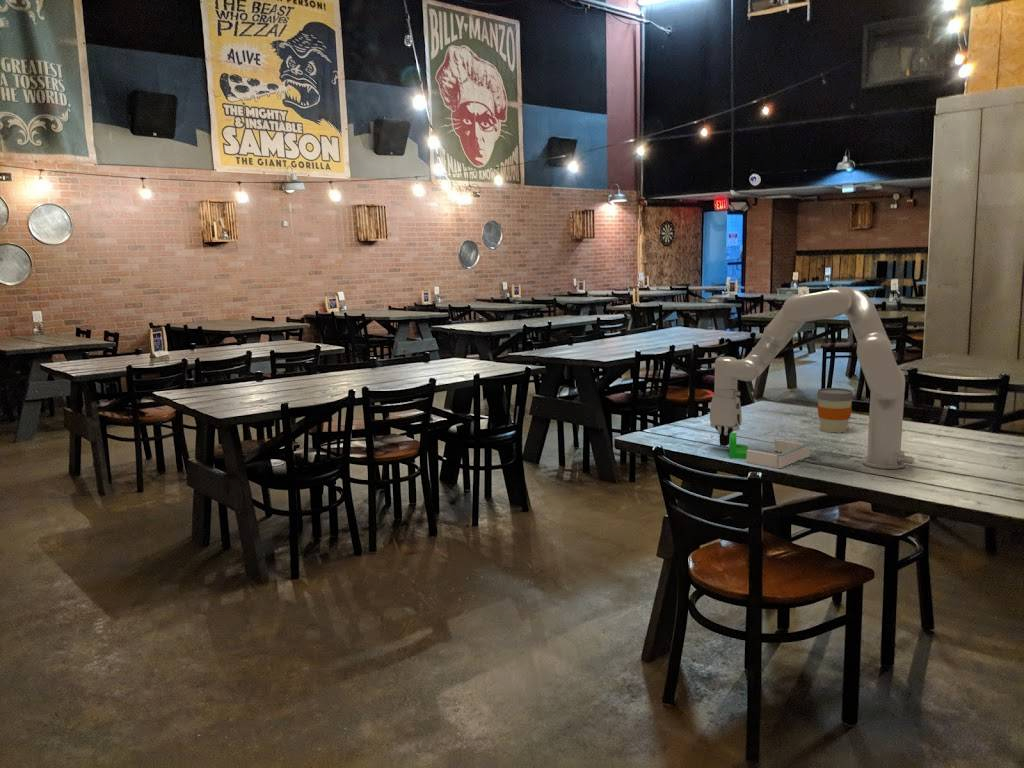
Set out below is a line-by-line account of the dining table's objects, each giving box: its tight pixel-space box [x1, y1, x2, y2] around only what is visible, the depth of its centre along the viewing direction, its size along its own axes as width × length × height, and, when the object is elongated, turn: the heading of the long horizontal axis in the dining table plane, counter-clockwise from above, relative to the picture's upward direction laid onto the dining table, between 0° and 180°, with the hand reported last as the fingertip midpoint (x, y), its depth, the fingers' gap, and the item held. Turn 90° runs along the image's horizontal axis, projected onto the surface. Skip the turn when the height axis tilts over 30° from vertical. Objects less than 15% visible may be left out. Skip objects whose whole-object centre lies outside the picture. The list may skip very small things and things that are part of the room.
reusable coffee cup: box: [816, 387, 854, 433], centre depth 294 cm, size 13×13×15 cm
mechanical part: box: [728, 432, 749, 460], centre depth 266 cm, size 12×6×8 cm, turn 166°
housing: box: [745, 439, 811, 469], centre depth 257 cm, size 12×19×4 cm, turn 134°
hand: (724, 445), depth 272 cm, fingers closed
